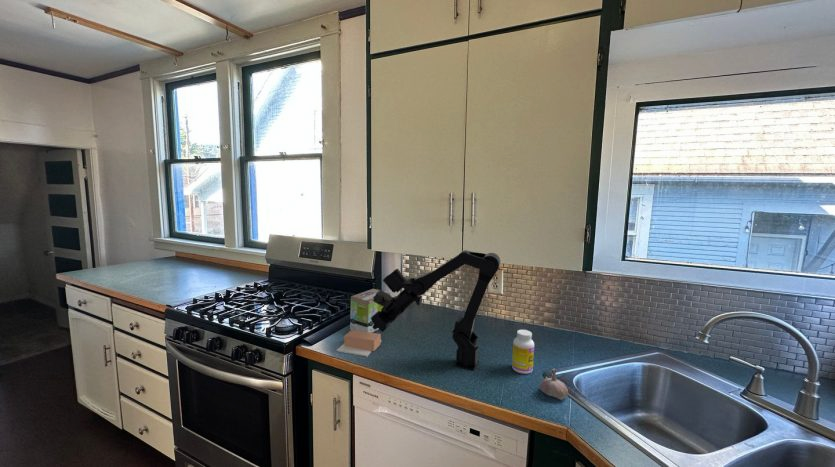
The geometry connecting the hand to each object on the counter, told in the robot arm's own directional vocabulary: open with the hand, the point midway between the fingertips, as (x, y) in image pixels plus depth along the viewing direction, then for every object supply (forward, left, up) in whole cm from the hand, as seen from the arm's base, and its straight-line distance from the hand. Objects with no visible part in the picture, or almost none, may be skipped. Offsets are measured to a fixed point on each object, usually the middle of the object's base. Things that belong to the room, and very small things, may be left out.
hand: (373, 327), depth 126 cm
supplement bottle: (-51, -13, -8) cm, 53 cm away
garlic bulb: (-62, -3, -8) cm, 63 cm away
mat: (+6, +1, -8) cm, 10 cm away
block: (-1, 0, -5) cm, 6 cm away
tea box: (+13, -16, -8) cm, 22 cm away
